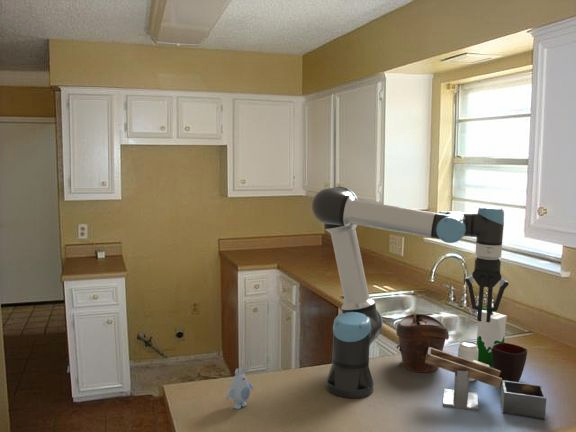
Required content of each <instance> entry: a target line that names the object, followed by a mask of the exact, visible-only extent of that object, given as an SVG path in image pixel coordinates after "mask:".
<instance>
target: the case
mask: <svg viewBox="0 0 576 432" xmlns="http://www.w3.org/2000/svg"><path fill="white" fill-rule="evenodd" d="M396 336H398V341H399V345H397V346H396V350H398V349H399V352H400V354H401V361H402V365H403V366H404V367H405V368H407V369H408V370H410V371H413V372H417V373H431V372H435V371H437V370H438V369H439V367H437V366H434V365H431V364H428V363H425V360H426V355H427V351H428V348H429V347H431V348H434V349H437V350H440V351H443V352H444V347H445V343H446V340H447V341H448V340H449V339H450V335H449V331H448V328H447V327H446V326H445V325H444V324H443V323H442V322H441V321H440V320H438V319H437V318H435V317H433V316H430V315H427V314H424V313H412V314H410V315H407V316H405V317H403V318H402V319H400V321H399V322H398V324H396Z"/></svg>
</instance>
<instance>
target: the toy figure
mask: <svg viewBox="0 0 576 432" xmlns="http://www.w3.org/2000/svg"><path fill="white" fill-rule="evenodd" d="M245 372H246V367H245V366H242V367H241V371H240V369H239V368H236V369H235V371H234V377H233V379H232V381H231V383H230V385H229V391H227V393H226V394H225V399H226V400H229V398H231V399H232V401H233V402H234V403H235V404H234V405H233V406H234V409H235V410H239V409H241V408H243V407H246V406H247V402H246V401H247V400H248V399H249V397H250V395H251V390H253V389H254V384H253V383H251V382H249V380H248V377H247V376H246V374H245Z"/></svg>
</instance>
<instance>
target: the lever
mask: <svg viewBox="0 0 576 432" xmlns="http://www.w3.org/2000/svg"><path fill="white" fill-rule="evenodd" d="M425 363H428V364H431V365H434V366H437V367H438V368H440V369H442V370H446V371H449V372H452V373H454V374H455V373H457V369H458V370H466V371H468V377H469V378H472V379H475V381H477V382H481V383H484V384H486V385H489V386H493V387H495V388H498V389H499V388H500V387H501V381H502V378H500V377H499V375H500V372H501V371H500V370H497V369H494V367H491V366H489V365H488V364H485V363H482V362H479V361H476V360H473V361H470V360H467V359H464V358H461V357H458V355H454V354H451V353H450V352H447V351H446V352H445V351H444V350H443V351H440V350H437V349H434V348H431V347H429V348H428V351H427V355H426V360H425Z"/></svg>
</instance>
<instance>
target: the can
mask: <svg viewBox="0 0 576 432" xmlns="http://www.w3.org/2000/svg"><path fill="white" fill-rule="evenodd" d="M457 349H458V351H457V356H458V357H461V358H464V359H467V360H470V361H473V360H476V361H478V347H477V342H475V341H469V340H464V341H463V340H462V341H460V342H459V345H458V347H457ZM474 381H475V382H476V380H475V379H472V378H469V383H470V382H471V383H472V382H474Z"/></svg>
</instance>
